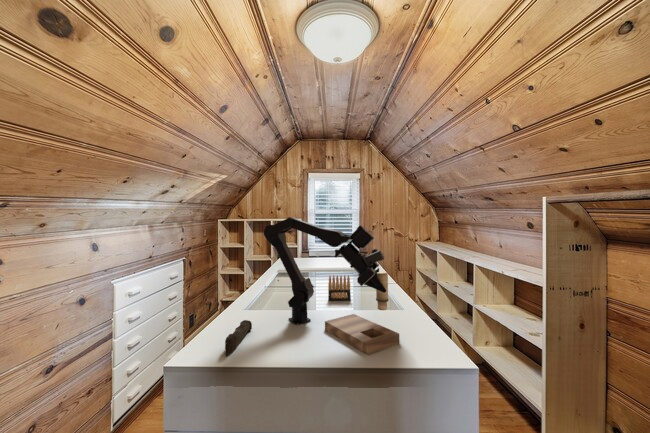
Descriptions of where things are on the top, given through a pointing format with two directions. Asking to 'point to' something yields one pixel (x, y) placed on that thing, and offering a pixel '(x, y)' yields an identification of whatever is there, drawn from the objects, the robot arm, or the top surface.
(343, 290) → the ammunition clip
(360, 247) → the robot arm
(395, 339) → the walnut board
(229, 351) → the hand tool
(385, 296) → the oak peg
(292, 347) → the top surface
